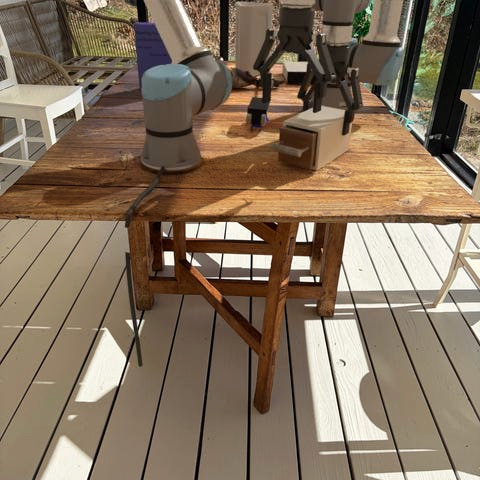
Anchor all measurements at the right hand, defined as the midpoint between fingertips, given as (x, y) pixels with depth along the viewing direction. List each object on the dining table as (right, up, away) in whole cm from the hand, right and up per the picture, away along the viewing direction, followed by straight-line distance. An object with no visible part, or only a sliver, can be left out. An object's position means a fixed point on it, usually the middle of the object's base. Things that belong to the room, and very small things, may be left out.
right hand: (325, 129), depth 130 cm
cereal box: (-54, +29, +59) cm, 85 cm away
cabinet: (-3, -7, 0) cm, 7 cm away
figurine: (-20, +31, +63) cm, 73 cm away
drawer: (-6, -9, -5) cm, 12 cm away
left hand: (-11, +1, -18) cm, 21 cm away
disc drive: (+5, +41, +79) cm, 89 cm away
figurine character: (-18, +6, +20) cm, 28 cm away
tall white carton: (-17, +47, +88) cm, 101 cm away
